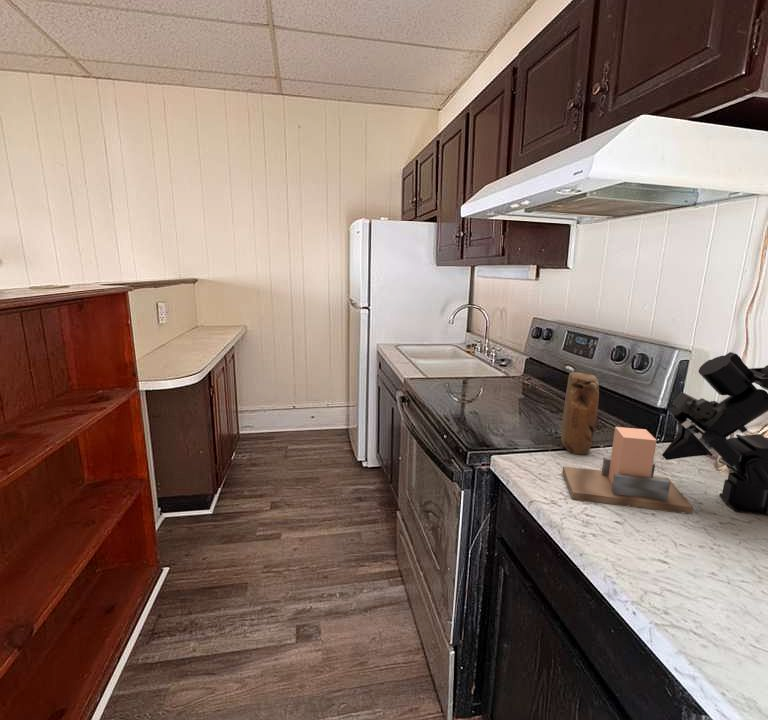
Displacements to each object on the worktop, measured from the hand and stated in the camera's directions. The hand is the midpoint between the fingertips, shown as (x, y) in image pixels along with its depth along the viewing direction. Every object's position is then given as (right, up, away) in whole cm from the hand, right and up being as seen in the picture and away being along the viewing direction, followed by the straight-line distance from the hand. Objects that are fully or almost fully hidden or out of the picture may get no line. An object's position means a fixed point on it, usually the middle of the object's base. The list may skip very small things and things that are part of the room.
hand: (664, 457), depth 88 cm
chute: (-7, -8, +3) cm, 11 cm away
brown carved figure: (-7, -3, +26) cm, 27 cm away
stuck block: (-6, -7, +3) cm, 9 cm away
